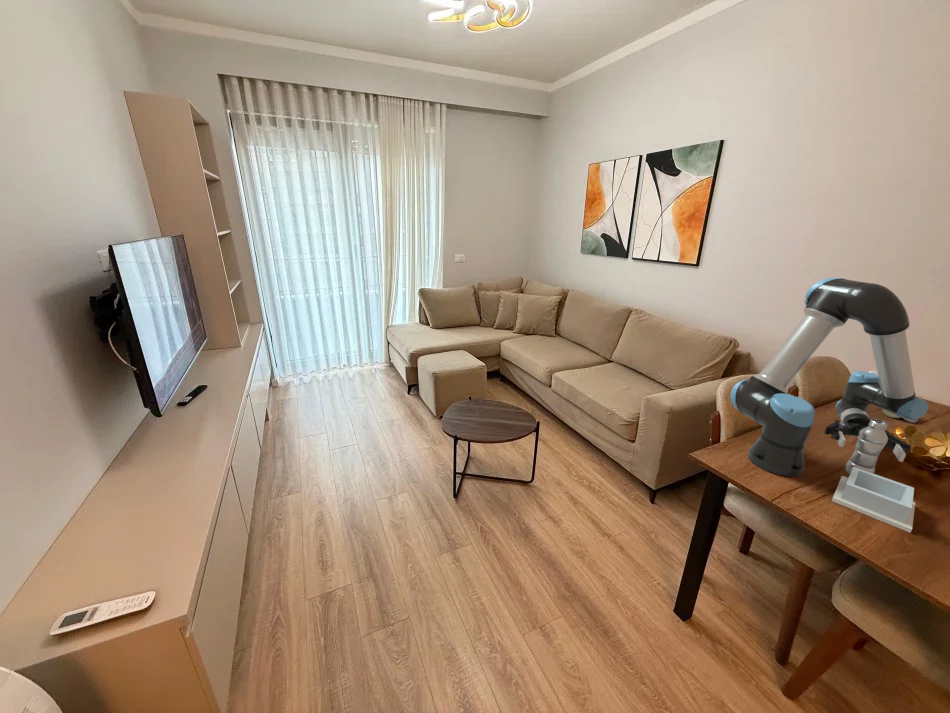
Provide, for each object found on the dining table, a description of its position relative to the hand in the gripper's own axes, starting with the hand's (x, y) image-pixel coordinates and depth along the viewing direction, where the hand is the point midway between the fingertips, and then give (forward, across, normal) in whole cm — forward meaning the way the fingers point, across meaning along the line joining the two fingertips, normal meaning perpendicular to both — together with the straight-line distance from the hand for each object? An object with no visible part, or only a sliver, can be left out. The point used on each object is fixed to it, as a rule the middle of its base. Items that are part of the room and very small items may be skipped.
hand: (871, 450), depth 119 cm
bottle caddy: (+13, -1, -11) cm, 17 cm away
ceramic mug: (-67, -23, -11) cm, 72 cm away
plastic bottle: (-2, 0, -11) cm, 11 cm away
